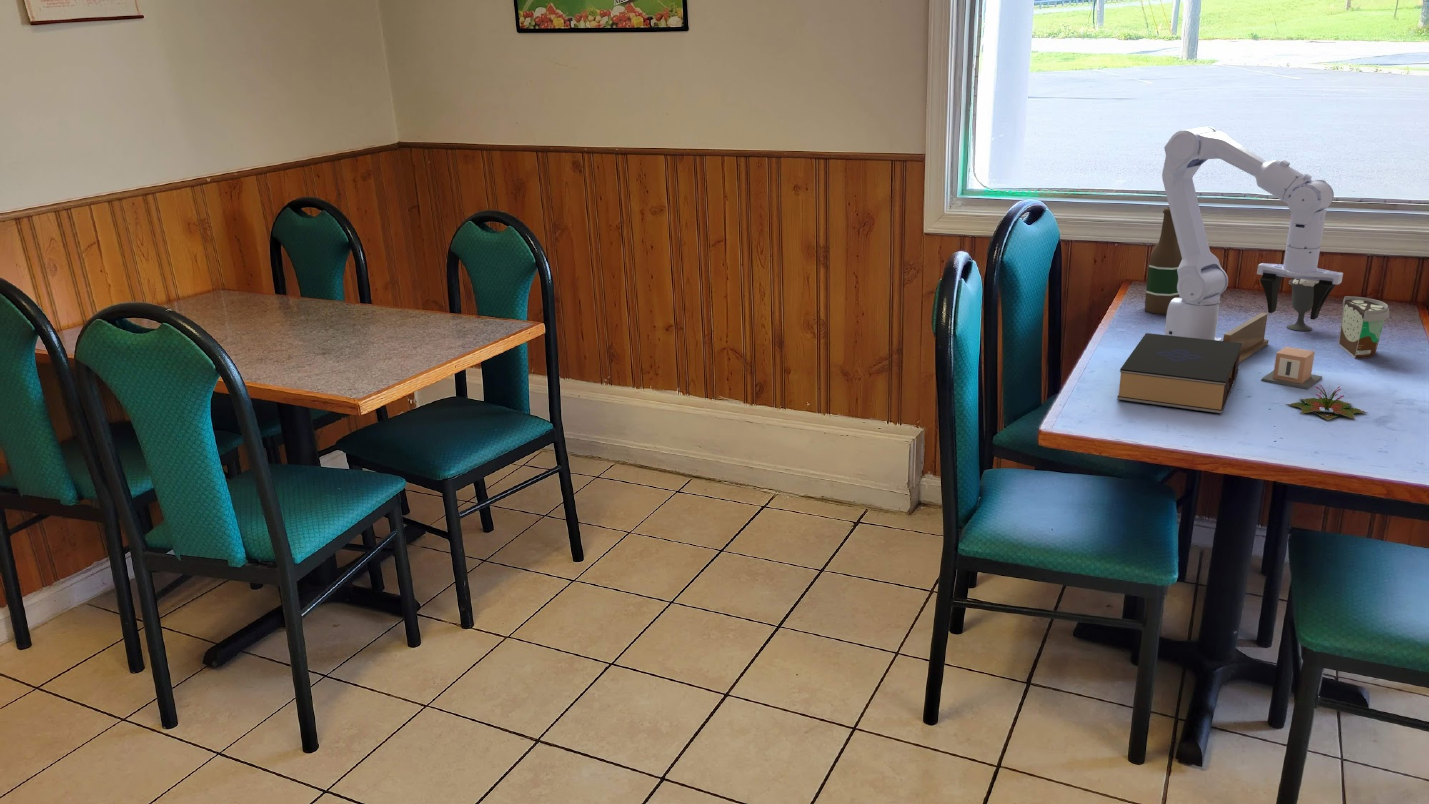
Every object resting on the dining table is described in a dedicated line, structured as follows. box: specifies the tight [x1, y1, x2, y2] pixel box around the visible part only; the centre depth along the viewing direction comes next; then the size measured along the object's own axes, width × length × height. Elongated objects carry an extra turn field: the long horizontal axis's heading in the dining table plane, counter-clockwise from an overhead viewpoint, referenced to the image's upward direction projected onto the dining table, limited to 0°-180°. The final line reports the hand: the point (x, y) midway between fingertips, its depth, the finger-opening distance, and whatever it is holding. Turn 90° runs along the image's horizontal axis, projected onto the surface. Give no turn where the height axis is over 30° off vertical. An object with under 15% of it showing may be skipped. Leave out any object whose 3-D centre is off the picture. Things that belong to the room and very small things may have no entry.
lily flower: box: [1285, 384, 1369, 421], centre depth 181 cm, size 12×12×5 cm
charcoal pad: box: [1260, 369, 1323, 390], centre depth 196 cm, size 8×8×1 cm
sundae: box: [1286, 278, 1319, 332], centre depth 224 cm, size 7×7×15 cm
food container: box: [1337, 295, 1390, 359], centre depth 208 cm, size 12×6×10 cm, turn 168°
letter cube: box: [1273, 346, 1316, 384], centre depth 195 cm, size 5×5×5 cm
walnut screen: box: [1222, 312, 1269, 364], centre depth 210 cm, size 3×20×6 cm, turn 135°
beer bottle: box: [1144, 206, 1182, 315], centre depth 240 cm, size 8×8×24 cm
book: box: [1116, 332, 1242, 414], centre depth 194 cm, size 17×25×7 cm
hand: (1292, 315), depth 203 cm, fingers open, 7 cm apart
